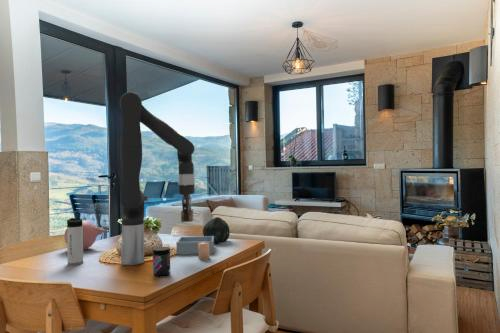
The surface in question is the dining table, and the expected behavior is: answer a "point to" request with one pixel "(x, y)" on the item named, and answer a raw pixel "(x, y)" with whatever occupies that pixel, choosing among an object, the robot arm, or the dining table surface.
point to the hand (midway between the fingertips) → (187, 219)
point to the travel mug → (74, 241)
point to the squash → (217, 230)
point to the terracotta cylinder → (203, 250)
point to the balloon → (88, 234)
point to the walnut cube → (189, 216)
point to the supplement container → (161, 261)
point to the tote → (193, 244)
